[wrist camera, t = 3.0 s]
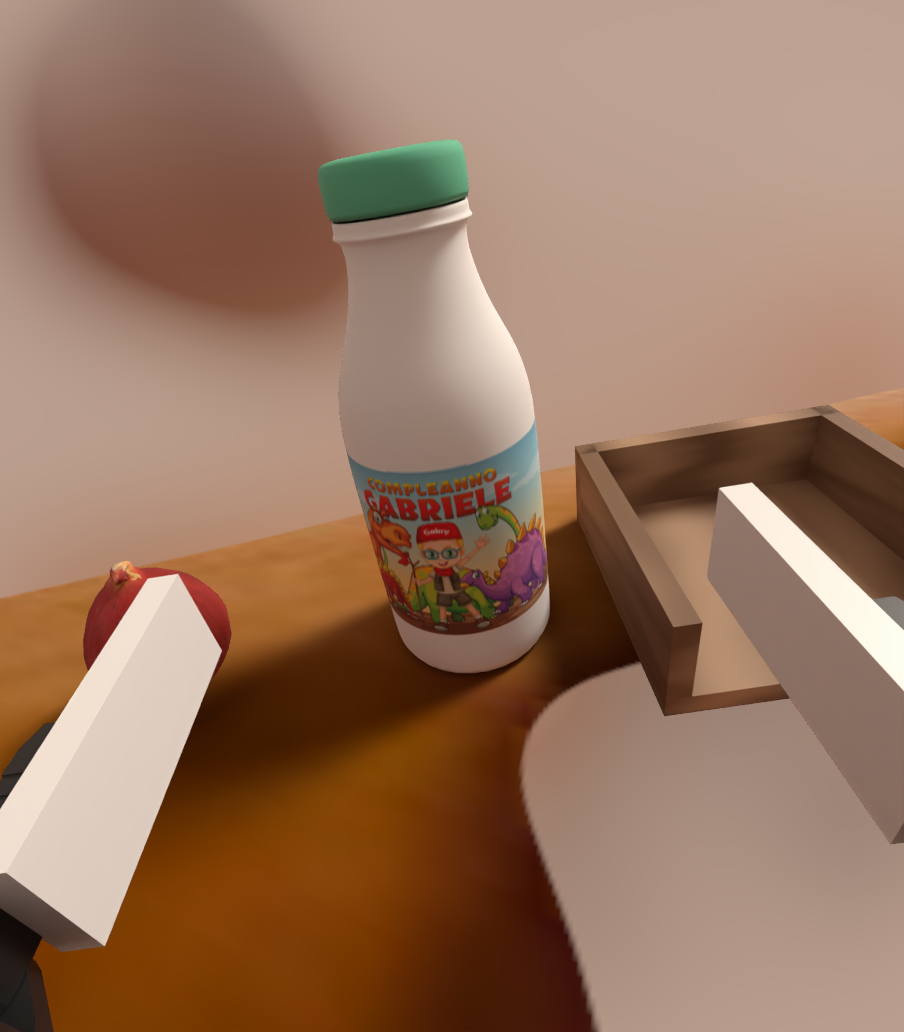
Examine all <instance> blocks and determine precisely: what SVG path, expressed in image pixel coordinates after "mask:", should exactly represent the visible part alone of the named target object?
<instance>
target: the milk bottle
mask: <svg viewBox="0 0 904 1032" xmlns="http://www.w3.org/2000/svg"><path fill="white" fill-rule="evenodd" d="M318 179H319V185H320V190H321V195H322V199H323V203H324V206H325V210H326V213H327V216H328V218H329V220H330V221H332V222H333V223H332V228H333V233H334V236H333V241H334V242H336V243H338V244H340V246H341V247H342V249H343V252H344V255H345V259H346V264H347V270H348V271H347V272H348V289H349V290H348V319H347V329H346V336H345V342H344V349H343V355H342V361H341V368H340V375H339V392H338V395H339V414H340V420H341V427H342V433H343V438H344V443H345V446H346V451H347V455H348V458H349V463H350V467H351V471H352V475H353V478H354V481H355V485H356V489H357V492H358V496H359V499H360V503H361V506H362V510H363V513H364V517H365V520H366V524H367V527H368V531H369V534H370V538H371V541H372V544H373V548H374V551H375V554H376V558H377V561H378V565H379V568H380V571H381V575H382V578H383V581H384V585H385V588H386V591H387V595H388V598H389V601H390V605H391V608H392V611H393V615H394V618H395V621H396V624H397V627H398V630H399V633H400V636H401V638H402V640H403V642H404V644H405V645H406V647H407V648H408V649H409V650H410V651H411V652H412V653H413V654H414V655H415V656H417V657H418V658H419V659H420V660H422V661H424V662H425V663H427V664H428V665H430V666H432V667H435V668H438V669H440V670H443V671H449V672H454V673H478V672H486V671H490V670H493V669H496V668H500V667H503V666H505V665H507V664H509V663H511V662H513V661H515V660H517V659H519V658H520V657H521V656H522V655H524V654H525V653H527V652H528V651H529V650H530V649H531V648H532V647H533V645H534V644H535V643H536V642H537V641H538V639H539V637H540V636H541V634H542V633H543V631H544V629H545V627H546V625H547V622H548V619H549V613H550V598H549V581H548V567H547V554H546V540H545V527H544V514H543V501H542V489H541V477H540V466H539V456H538V455H539V454H538V442H537V433H536V425H535V417H534V409H533V400H532V396H531V391H530V386H529V381H528V378H527V375H526V371H525V368H524V365H523V362H522V359H521V357H520V355H519V352H518V350H517V348H516V345H515V344H514V342H513V340H512V338H511V336H510V334H509V332H508V331H507V329H506V327H505V326H504V324H503V322H502V320H501V319H500V317H499V315H498V313H497V312H496V310H495V308H494V307H493V305H492V303H491V301H490V299H489V297H488V295H487V293H486V291H485V288H484V286H483V284H482V282H481V279H480V277H479V274H478V272H477V269H476V267H475V264H474V261H473V258H472V255H471V252H470V248H469V244H468V239H467V231H466V224H467V220H468V219H469V218H470V217H471V215H472V212H471V211H470V210H469V204H468V200H467V198H465V197H466V196H468V190H469V186H468V175H467V166H466V160H465V154H464V150H463V148H462V145H461V143H460V142H458V141H456V140H440V141H433V142H427V143H421V144H415V145H410V146H404V147H399V148H393V149H388V150H382V151H377V152H372V153H367V154H362V155H357V156H352V157H347V158H343V159H339V160H335V161H332V162H329V163H326V164H324V165H322V166H321V167H320V168H319V170H318Z"/></svg>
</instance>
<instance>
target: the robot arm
mask: <svg viewBox="0 0 904 1032" xmlns="http://www.w3.org/2000/svg"><path fill="white" fill-rule="evenodd" d="M707 578H708V580H709V581H710V583H711V584H712V586H713V587H714V589H715V590H716V591H717V593H718V594H719V596H720V597H721V599H722V600H723V602H724V603H725V605H726V606H727V607H728V609H729V610H730V612H731V613H732V615H733V616H734V618H735V619H736V620H737V622H738V623H739V625H740V626H741V628H742V629H743V631H744V632H745V634H746V635H747V636H748V638H749V639H750V641H751V642H752V644H753V645H754V647H755V648H756V650H757V651H758V652H759V654H760V655H761V657H762V658H763V660H764V661H765V663H766V664H767V666H768V667H769V668H770V670H771V671H772V673H773V674H774V676H775V677H776V679H777V680H778V682H779V683H780V684H781V686H782V687H783V689H784V690H785V692H786V693H787V695H788V696H789V698H790V699H791V700H792V702H793V703H794V705H795V706H796V708H797V709H798V710H799V712H800V714H801V715H802V716H803V718H804V719H805V721H806V722H807V724H808V725H809V727H810V728H811V729H812V731H813V732H814V734H815V735H816V737H817V738H818V740H819V741H820V743H821V744H822V745H823V747H824V748H825V750H826V751H827V753H828V754H829V756H830V757H831V759H832V760H833V761H834V763H835V764H836V766H837V767H838V769H839V770H840V772H841V773H842V775H843V776H844V777H845V779H846V780H847V782H848V783H849V785H850V786H851V788H852V789H853V791H854V792H855V793H856V795H857V796H858V798H859V799H860V801H861V802H862V804H863V805H864V807H865V808H866V809H867V811H868V812H869V814H870V815H871V817H872V818H873V820H874V821H875V822H876V824H877V825H878V827H879V828H880V830H881V831H882V833H883V834H884V835H885V837H886V839H887V840H888V841H889V843H890V844H896V843H904V601H903V600H901V599H899V598H897V597H895V596H893V597H886V598H879V599H873V600H872V599H871V598H870V597H869V596H868V595H867V594H866V593H865V592H864V591H863V590H862V589H861V588H860V587H859V586H858V585H857V584H856V583H855V582H853V581H852V580H851V579H850V578H849V577H848V576H847V575H846V574H845V573H844V572H843V571H842V570H841V569H840V568H839V567H838V566H837V565H836V564H835V563H834V562H833V561H832V560H831V559H830V558H829V557H828V556H827V555H826V554H825V553H824V552H823V551H822V550H821V549H820V548H819V547H818V546H817V545H815V544H814V543H813V542H812V541H811V540H810V539H809V538H808V537H807V536H806V535H805V534H804V533H803V532H802V531H801V530H800V529H799V528H798V527H797V526H796V525H795V524H794V523H793V522H792V521H791V520H790V519H789V518H788V517H787V516H786V515H785V514H784V513H783V512H782V511H781V510H780V509H779V508H777V507H776V506H775V505H774V504H773V503H772V502H771V501H770V500H769V499H768V498H767V497H766V496H765V495H764V494H763V493H762V492H761V491H760V490H759V489H758V488H757V487H756V486H755V485H754V484H753V483H747V484H741V485H734V486H728V487H722V488H719V491H718V499H717V506H716V513H715V520H714V527H713V534H712V542H711V549H710V556H709V563H708V570H707ZM221 652H222V650H221V648H220V647H219V645H218V643H217V641H216V640H215V638H214V636H213V634H212V633H211V631H210V629H209V627H208V626H207V624H206V622H205V620H204V619H203V617H202V615H201V613H200V612H199V610H198V608H197V606H196V605H195V603H194V601H193V599H192V598H191V596H190V594H189V592H188V591H187V589H186V587H185V585H184V584H183V582H182V580H181V578H180V577H179V575H178V574H174V575H168V576H162V577H155V578H149V579H147V581H146V582H145V584H144V585H143V587H142V589H141V590H140V592H139V593H138V595H137V596H136V598H135V599H134V601H133V603H132V604H131V606H130V607H129V609H128V610H127V612H126V614H125V615H124V617H123V618H122V620H121V621H120V623H119V624H118V626H117V628H116V629H115V631H114V632H113V634H112V635H111V637H110V639H109V640H108V642H107V643H106V645H105V646H104V648H103V649H102V651H101V653H100V654H99V656H98V657H97V659H96V660H95V662H94V664H93V665H92V667H91V668H90V670H89V671H88V673H87V674H86V676H85V678H84V679H83V681H82V682H81V684H80V685H79V687H78V688H77V690H76V692H75V693H74V695H73V696H72V698H71V699H70V701H69V703H68V704H67V706H66V707H65V709H64V710H63V712H62V713H61V715H60V717H59V718H58V720H57V721H56V722H54V723H47V724H44V725H43V726H42V727H41V728H40V729H39V730H38V731H37V732H36V733H35V734H34V735H33V736H32V737H31V738H30V739H29V740H28V741H27V742H26V743H25V744H24V745H23V746H22V747H21V748H20V749H19V750H18V752H17V753H16V755H15V756H14V758H13V759H12V761H11V762H10V764H9V765H8V767H7V768H6V770H5V771H4V773H3V774H2V780H0V1032H53V1027H52V1022H51V1017H50V1012H49V1007H48V1002H47V997H46V992H45V987H44V982H43V977H42V972H41V969H40V968H39V966H38V964H37V962H36V961H35V960H33V959H32V958H33V956H34V954H35V952H36V950H37V948H38V946H39V943H40V941H41V939H44V940H45V941H47V942H48V943H50V944H51V945H52V946H54V947H55V948H57V949H58V950H60V951H61V952H64V951H72V950H79V949H87V948H95V947H102V946H105V944H106V942H107V939H108V937H109V934H110V932H111V929H112V927H113V924H114V922H115V919H116V916H117V914H118V911H119V909H120V906H121V904H122V901H123V899H124V896H125V894H126V891H127V889H128V886H129V884H130V881H131V879H132V876H133V874H134V871H135V869H136V866H137V864H138V861H139V859H140V856H141V853H142V851H143V848H144V846H145V843H146V841H147V838H148V836H149V833H150V831H151V828H152V826H153V823H154V821H155V818H156V816H157V813H158V811H159V808H160V806H161V803H162V801H163V798H164V796H165V793H166V790H167V788H168V785H169V783H170V780H171V778H172V775H173V773H174V770H175V768H176V765H177V763H178V760H179V758H180V755H181V753H182V750H183V748H184V745H185V743H186V740H187V738H188V735H189V733H190V730H191V727H192V725H193V722H194V720H195V717H196V715H197V712H198V710H199V707H200V705H201V702H202V700H203V697H204V695H205V692H206V690H207V687H208V685H209V682H210V680H211V677H212V675H213V672H214V669H215V667H216V664H217V662H218V659H219V657H220V654H221Z"/></svg>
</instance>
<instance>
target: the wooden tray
mask: <svg viewBox="0 0 904 1032" xmlns="http://www.w3.org/2000/svg"><path fill="white" fill-rule="evenodd" d="M575 463H576V494H577V520H578V522H579V524H580V526H581V529H582V531H583V533H584V536H585V538H586V540H587V542H588V545H589V547H590V549H591V551H592V554H593V556H594V558H595V560H596V563H597V565H598V567H599V569H600V572H601V574H602V576H603V578H604V581H605V583H606V585H607V588H608V590H609V592H610V594H611V597H612V599H613V601H614V603H615V606H616V608H617V610H618V612H619V615H620V617H621V619H622V621H623V624H624V626H625V628H626V630H627V633H628V635H629V637H630V640H631V642H632V644H633V646H634V649H635V651H636V653H637V655H638V658H639V660H640V662H641V664H642V667H643V669H644V671H645V673H646V676H647V678H648V680H649V682H650V685H651V687H652V689H653V691H654V693H655V696H656V698H657V701H658V703H659V705H660V707H661V709H662V712H663V714H664V716H669V715H676V714H683V713H690V712H696V711H704V710H711V709H718V708H725V707H731V706H739V705H745V704H753V703H760V702H767V701H774V700H780V699H788V698H789V696H788V695H787V693H786V692H785V690H784V689H783V687H782V686H781V684H780V683H779V682H778V680H777V679H776V677H775V676H774V674H773V673H772V671H771V670H770V668H769V667H768V666H767V664H766V663H765V661H764V660H763V658H762V657H761V655H760V654H759V652H758V651H757V650H756V648H755V647H754V645H753V644H752V642H751V641H750V639H749V638H748V636H747V635H746V634H745V632H744V631H743V629H742V628H741V626H740V625H739V623H738V622H737V620H736V619H735V618H734V616H733V615H732V613H731V612H730V610H729V609H728V607H727V606H726V605H725V603H724V602H723V600H722V599H721V597H720V596H719V594H718V593H717V591H716V590H715V589H714V587H713V586H712V584H711V583H710V581H709V580H708V578H707V570H708V563H709V556H710V549H711V542H712V534H713V527H714V520H715V513H716V506H717V499H718V491H719V488H722V487H728V486H734V485H741V484H747V483H753V484H754V485H755V486H756V487H757V488H758V489H759V490H760V491H761V492H762V493H763V494H764V495H765V496H766V497H767V498H768V499H769V500H770V501H771V502H772V503H773V504H774V505H775V506H776V507H777V508H779V509H780V510H781V511H782V512H783V513H784V514H785V515H786V516H787V517H788V518H789V519H790V520H791V521H792V522H793V523H794V524H795V525H796V526H797V527H798V528H799V529H800V530H801V531H802V532H803V533H804V534H805V535H806V536H807V537H808V538H809V539H810V540H811V541H812V542H813V543H814V544H815V545H817V546H818V547H819V548H820V549H821V550H822V551H823V552H824V553H825V554H826V555H827V556H828V557H829V558H830V559H831V560H832V561H833V562H834V563H835V564H836V565H837V566H838V567H839V568H840V569H841V570H842V571H843V572H844V573H845V574H846V575H847V576H848V577H849V578H850V579H851V580H852V581H853V582H855V583H856V584H857V585H858V586H859V587H860V588H861V589H862V590H863V591H864V592H865V593H866V594H867V595H868V596H869V597H870V598H871V599H872V600H873V599H879V598H886V597H893V596H895V597H897V598H899V599H901V600H903V601H904V450H903V449H901V448H899V447H898V446H896V445H894V444H893V443H891V442H889V441H888V440H886V439H884V438H883V437H881V436H879V435H878V434H876V433H874V432H873V431H871V430H869V429H868V428H866V427H864V426H863V425H861V424H859V423H858V422H856V421H854V420H853V419H851V418H849V417H848V416H846V415H844V414H843V413H841V412H839V411H838V410H836V409H835V408H833V407H831V406H830V405H825V406H819V407H813V408H807V409H801V410H795V411H789V412H783V413H777V414H770V415H764V416H758V417H752V418H746V419H740V420H734V421H728V422H721V423H715V424H709V425H703V426H697V427H691V428H686V429H679V430H673V431H667V432H661V433H654V434H649V435H642V436H636V437H630V438H624V439H618V440H612V441H606V442H600V443H593V444H587V445H582V446H576V447H575Z"/></svg>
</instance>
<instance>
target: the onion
mask: <svg viewBox="0 0 904 1032" xmlns="http://www.w3.org/2000/svg"><path fill="white" fill-rule="evenodd" d="M174 574H178V575H179V577H180V578H181V580H182V582H183V584H184V585H185V587H186V589H187V591H188V592H189V594H190V596H191V598H192V599H193V601H194V603H195V605H196V606H197V608H198V610H199V612H200V613H201V615H202V617H203V619H204V620H205V622H206V624H207V626H208V627H209V629H210V631H211V633H212V634H213V636H214V638H215V640H216V641H217V643H218V645H219V647H220V648H221V650H222V652H221V654H220V657H219V659H218V662H217V664H216V667H215V669H214V672H213V675H212V677H211V679H212V678H213V677H214V675H215V674H216V673H217V671H218V670H219V668H220V666H221V665H222V663H223V661H224V659H225V656H226V654H227V651H228V649H229V644H230V639H231V628H230V622H229V618H228V613H227V609H226V606H225V604H224V603H223V601H222V600H221V598H220V597H219V595H218V594H217V593H215V592H214V591H213V590H212V589H211V588H210V587H208V586H207V585H205V584H204V583H203V582H201V581H200V580H198V579H197V578H195V577H193V576H191V575H189V574H187V573H183V572H180V571H175V570H168V569H162V568H142V569H138V568H136V567H134V566H132V564H131V563H130V561H123V562H121V563H118V564H116V565H114V566H112V567H111V570H110V578H109V579H108V580H107V582H106V583H105V585H104V587H103V588H102V590H101V591H100V592H99V593H98V595H97V596H96V598H95V600H94V602H93V604H92V606H91V608H90V610H89V613H88V617H87V621H86V627H85V633H84V639H83V647H84V659H85V663H86V666H87V669H88V671H89V670H90V668H91V667H92V665H93V664H94V662H95V660H96V659H97V657H98V656H99V654H100V653H101V651H102V649H103V648H104V646H105V645H106V643H107V642H108V640H109V639H110V637H111V635H112V634H113V632H114V631H115V629H116V628H117V626H118V624H119V623H120V621H121V620H122V618H123V617H124V615H125V614H126V612H127V610H128V609H129V607H130V606H131V604H132V603H133V601H134V599H135V598H136V596H137V595H138V593H139V592H140V590H141V589H142V587H143V585H144V584H145V582H146V581H147V579H149V578H155V577H162V576H168V575H174ZM210 681H211V680H210Z"/></svg>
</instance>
